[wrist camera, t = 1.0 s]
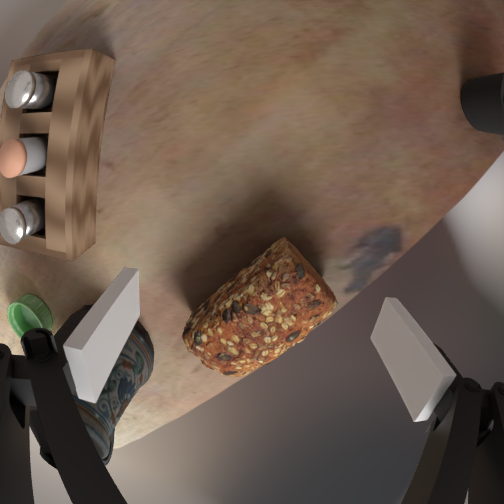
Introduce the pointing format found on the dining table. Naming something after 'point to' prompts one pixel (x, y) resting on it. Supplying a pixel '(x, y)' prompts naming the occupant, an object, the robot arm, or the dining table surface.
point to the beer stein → (108, 395)
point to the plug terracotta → (23, 156)
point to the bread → (259, 312)
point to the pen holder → (485, 103)
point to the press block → (61, 150)
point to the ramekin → (28, 314)
